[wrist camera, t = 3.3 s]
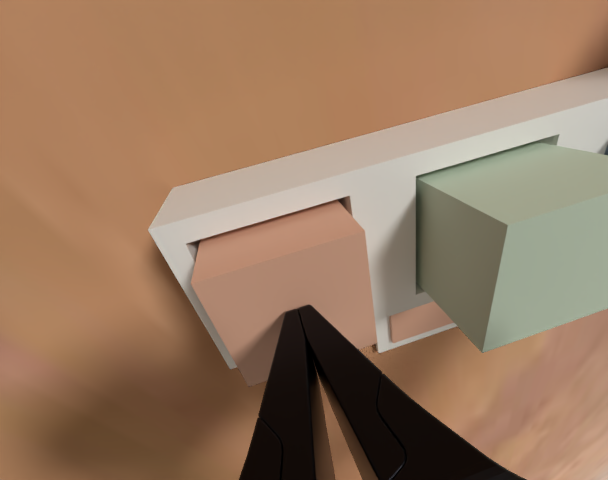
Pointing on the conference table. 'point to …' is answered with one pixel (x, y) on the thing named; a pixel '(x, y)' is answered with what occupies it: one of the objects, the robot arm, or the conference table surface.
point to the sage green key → (515, 240)
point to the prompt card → (411, 326)
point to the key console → (378, 182)
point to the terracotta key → (285, 281)
